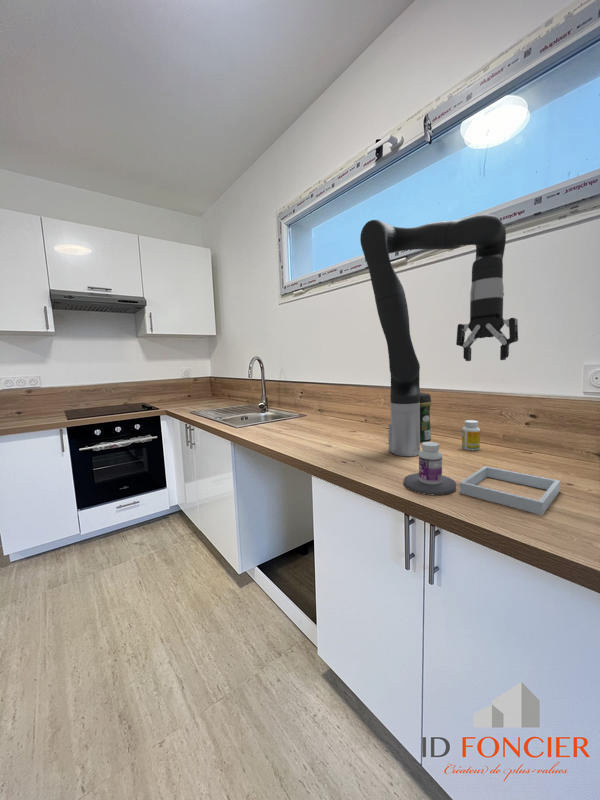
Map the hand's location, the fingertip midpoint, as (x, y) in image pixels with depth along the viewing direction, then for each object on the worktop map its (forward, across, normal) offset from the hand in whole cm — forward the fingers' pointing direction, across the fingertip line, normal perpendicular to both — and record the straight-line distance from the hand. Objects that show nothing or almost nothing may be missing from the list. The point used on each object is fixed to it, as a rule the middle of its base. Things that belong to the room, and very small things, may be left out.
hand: (485, 360), depth 85 cm
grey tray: (+30, +10, -13) cm, 34 cm away
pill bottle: (+29, -5, -21) cm, 36 cm away
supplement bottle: (+30, -10, +18) cm, 37 cm away
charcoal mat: (+30, -5, -21) cm, 37 cm away
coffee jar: (+30, -30, +19) cm, 47 cm away
